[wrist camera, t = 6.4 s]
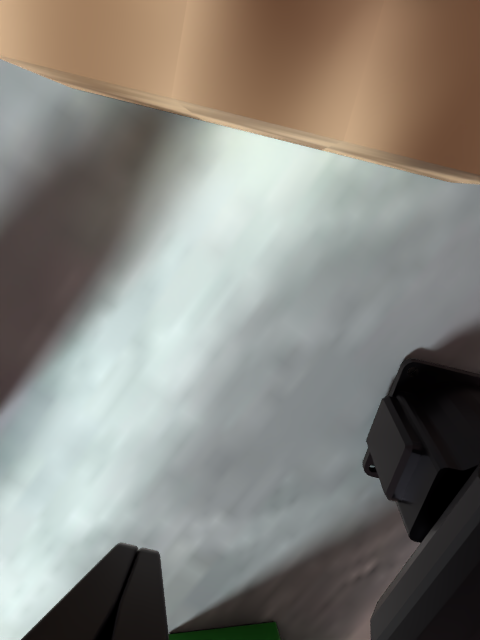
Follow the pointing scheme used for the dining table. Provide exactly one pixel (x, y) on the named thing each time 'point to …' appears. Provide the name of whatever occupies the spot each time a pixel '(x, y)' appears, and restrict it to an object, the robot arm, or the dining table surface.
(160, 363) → the dining table surface
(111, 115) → the dining table surface
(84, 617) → the robot arm
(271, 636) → the milk carton
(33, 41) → the socket block
